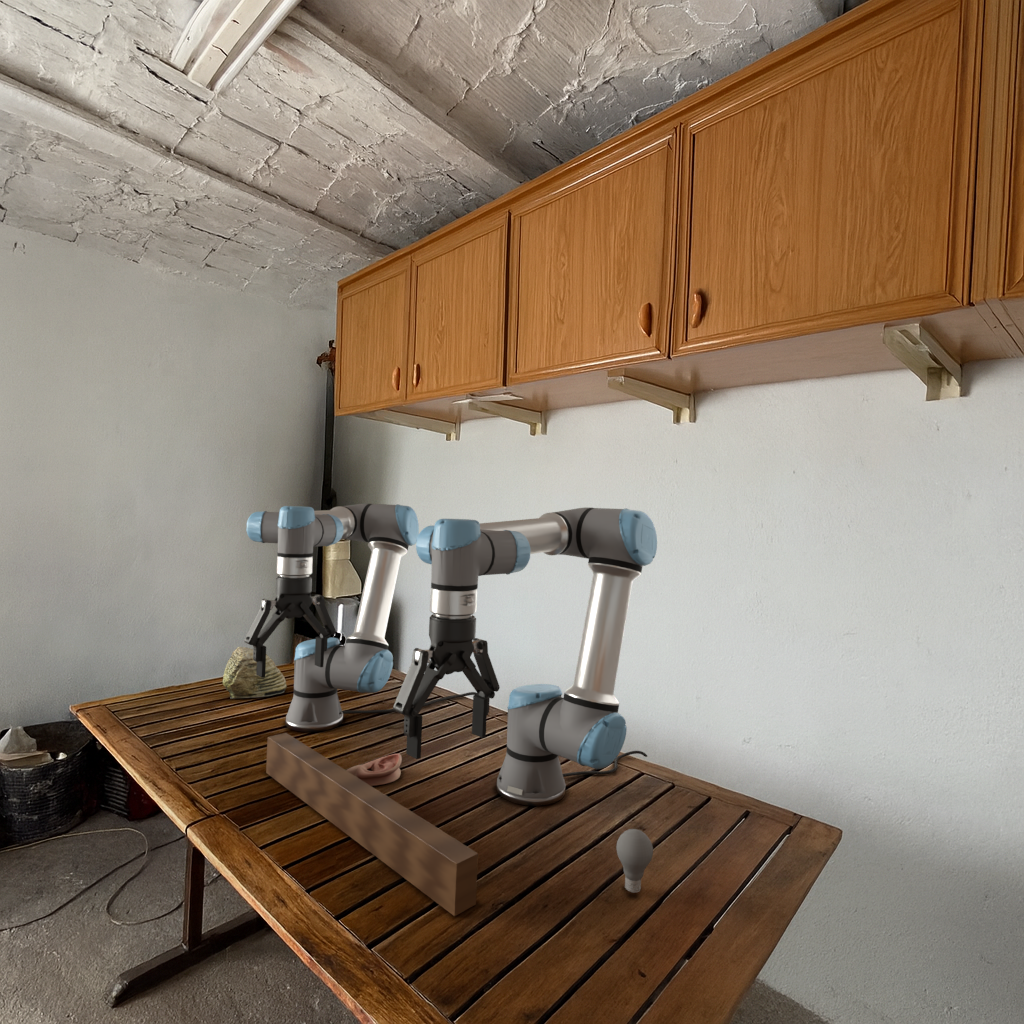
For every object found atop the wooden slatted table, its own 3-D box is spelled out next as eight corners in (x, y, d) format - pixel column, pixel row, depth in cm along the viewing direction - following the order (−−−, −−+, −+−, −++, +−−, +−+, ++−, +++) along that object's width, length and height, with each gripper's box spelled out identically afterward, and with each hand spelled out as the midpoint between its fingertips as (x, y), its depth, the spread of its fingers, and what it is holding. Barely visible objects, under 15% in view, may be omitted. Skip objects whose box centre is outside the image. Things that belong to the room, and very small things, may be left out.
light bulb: (610, 879, 108) (613, 822, 108) (644, 879, 109) (647, 822, 109) (619, 902, 102) (622, 840, 102) (655, 901, 103) (658, 840, 103)
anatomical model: (331, 765, 140) (354, 745, 151) (331, 782, 140) (354, 762, 151) (388, 772, 137) (407, 752, 148) (387, 791, 137) (406, 769, 148)
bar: (266, 772, 144) (267, 737, 144) (284, 767, 147) (286, 732, 147) (454, 916, 97) (456, 863, 97) (475, 904, 100) (478, 853, 100)
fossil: (218, 695, 195) (220, 647, 195) (278, 685, 208) (279, 640, 207) (228, 703, 189) (230, 653, 188) (289, 692, 201) (290, 645, 201)
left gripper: (245, 581, 129) (241, 684, 129) (353, 574, 147) (349, 665, 147) (230, 576, 134) (226, 676, 135) (336, 571, 152) (332, 658, 152)
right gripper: (403, 627, 91) (397, 774, 91) (523, 610, 108) (517, 733, 109) (373, 618, 96) (368, 757, 96) (493, 604, 114) (487, 721, 114)
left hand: (290, 670), depth 141 cm, fingers open, 13 cm apart
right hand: (447, 745), depth 102 cm, fingers open, 13 cm apart
